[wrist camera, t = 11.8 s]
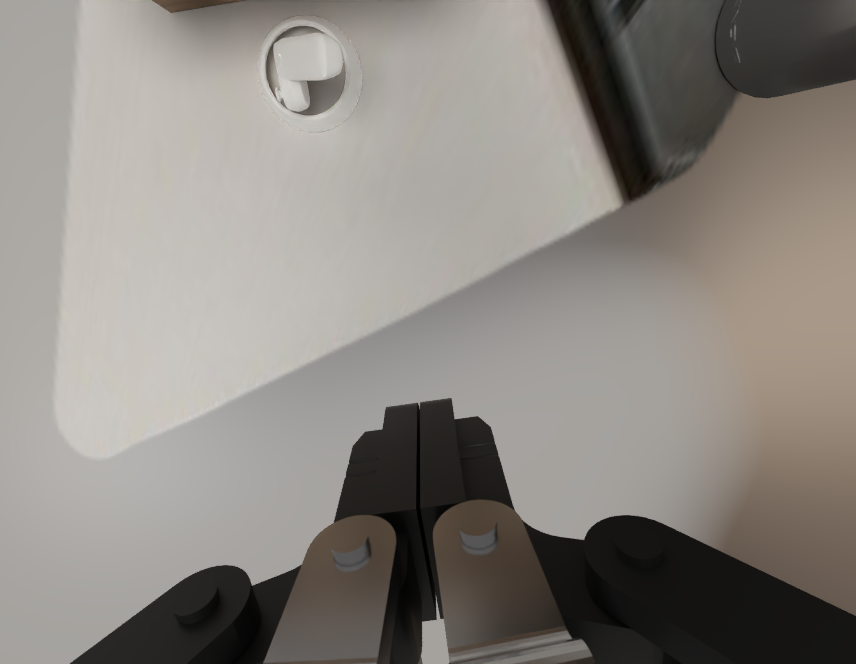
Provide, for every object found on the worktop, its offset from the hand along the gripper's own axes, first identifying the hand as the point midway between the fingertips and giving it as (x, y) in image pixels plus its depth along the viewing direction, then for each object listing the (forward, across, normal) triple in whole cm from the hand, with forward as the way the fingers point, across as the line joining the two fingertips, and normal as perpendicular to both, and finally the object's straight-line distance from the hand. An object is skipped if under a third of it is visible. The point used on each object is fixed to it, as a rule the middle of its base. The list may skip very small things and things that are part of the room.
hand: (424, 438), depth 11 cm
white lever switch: (+29, +6, -14) cm, 33 cm away
